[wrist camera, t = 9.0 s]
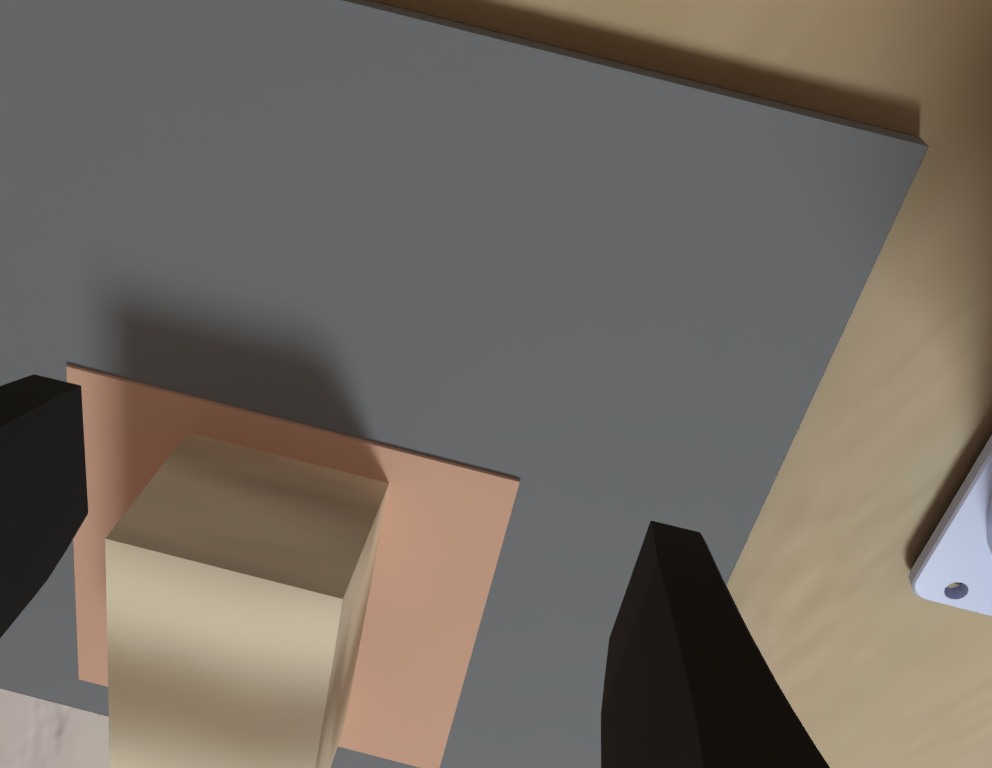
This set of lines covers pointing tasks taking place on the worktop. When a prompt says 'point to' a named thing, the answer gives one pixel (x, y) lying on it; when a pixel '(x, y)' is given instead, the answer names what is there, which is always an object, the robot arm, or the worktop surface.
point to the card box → (237, 609)
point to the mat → (422, 321)
